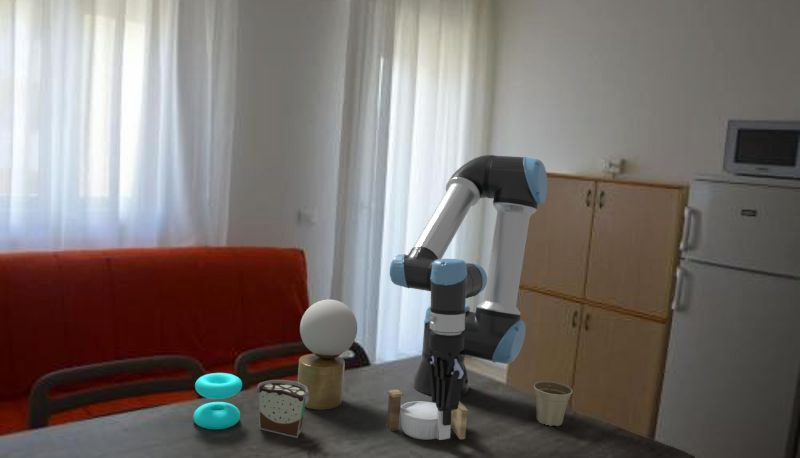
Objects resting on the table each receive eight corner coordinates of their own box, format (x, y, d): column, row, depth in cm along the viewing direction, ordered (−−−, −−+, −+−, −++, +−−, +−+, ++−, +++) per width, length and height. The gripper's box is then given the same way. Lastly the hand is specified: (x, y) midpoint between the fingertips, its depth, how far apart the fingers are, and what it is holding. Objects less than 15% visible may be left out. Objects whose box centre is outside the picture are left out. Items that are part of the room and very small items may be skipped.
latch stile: (384, 427, 152) (387, 390, 151) (394, 425, 153) (397, 389, 152) (390, 431, 150) (393, 394, 149) (400, 430, 151) (403, 393, 150)
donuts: (242, 386, 143) (194, 386, 140) (240, 431, 144) (191, 432, 141) (241, 371, 152) (196, 371, 150) (239, 413, 153) (194, 413, 151)
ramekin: (411, 418, 158) (413, 396, 158) (454, 430, 153) (456, 408, 153) (389, 433, 149) (391, 410, 148) (434, 447, 143) (436, 423, 143)
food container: (316, 429, 148) (319, 385, 147) (303, 439, 142) (306, 394, 141) (267, 418, 152) (270, 375, 151) (253, 427, 146) (256, 383, 145)
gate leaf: (444, 420, 157) (446, 393, 156) (449, 420, 157) (452, 393, 156) (459, 439, 147) (462, 410, 146) (465, 438, 147) (468, 410, 146)
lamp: (312, 384, 176) (319, 291, 173) (361, 395, 171) (368, 299, 168) (282, 402, 162) (288, 301, 159) (334, 414, 157) (341, 310, 154)
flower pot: (569, 432, 158) (573, 397, 157) (529, 425, 160) (533, 391, 159) (568, 417, 167) (571, 384, 166) (530, 412, 169) (533, 379, 168)
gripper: (417, 326, 147) (414, 431, 149) (447, 339, 136) (443, 451, 137) (446, 324, 150) (443, 426, 152) (477, 336, 139) (474, 446, 141)
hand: (443, 438), depth 145 cm, fingers closed
